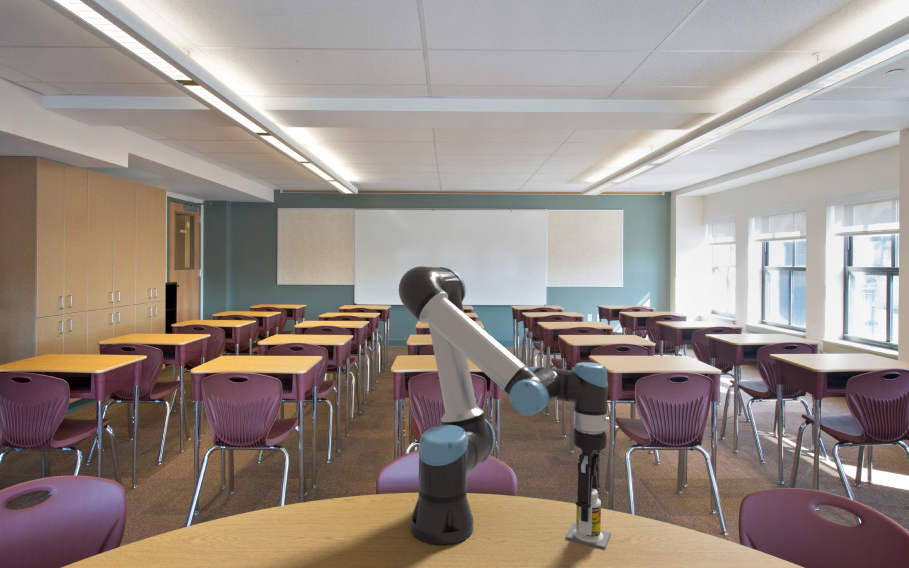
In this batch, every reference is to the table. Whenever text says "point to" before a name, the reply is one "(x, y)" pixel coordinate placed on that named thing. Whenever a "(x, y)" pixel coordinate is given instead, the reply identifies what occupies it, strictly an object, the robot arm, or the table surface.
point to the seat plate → (596, 542)
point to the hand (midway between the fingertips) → (588, 526)
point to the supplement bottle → (595, 516)
